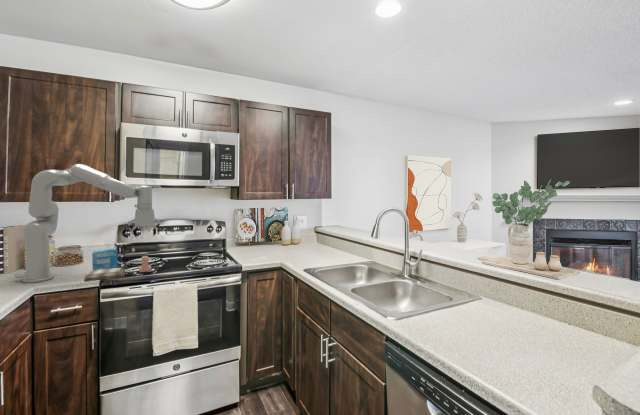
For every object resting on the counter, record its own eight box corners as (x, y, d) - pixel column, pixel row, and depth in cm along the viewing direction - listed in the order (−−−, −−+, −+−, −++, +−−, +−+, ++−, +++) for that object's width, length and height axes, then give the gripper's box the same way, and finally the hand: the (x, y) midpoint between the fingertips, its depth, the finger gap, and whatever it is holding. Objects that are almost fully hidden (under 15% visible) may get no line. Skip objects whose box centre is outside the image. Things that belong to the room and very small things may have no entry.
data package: (95, 272, 182) (94, 252, 181) (92, 271, 185) (92, 251, 184) (118, 268, 192) (117, 249, 191) (115, 267, 194) (114, 248, 194)
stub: (139, 272, 177) (139, 259, 177) (138, 268, 185) (138, 256, 185) (151, 271, 180) (151, 258, 180) (150, 267, 188) (150, 255, 188)
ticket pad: (84, 281, 164) (84, 274, 163) (86, 276, 172) (86, 270, 172) (124, 277, 173) (124, 270, 173) (124, 273, 182) (124, 266, 181)
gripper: (127, 207, 173) (127, 237, 174) (161, 207, 182) (161, 235, 183) (127, 206, 180) (127, 235, 180) (160, 206, 189) (160, 234, 190)
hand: (144, 235), depth 182 cm, fingers open, 9 cm apart
